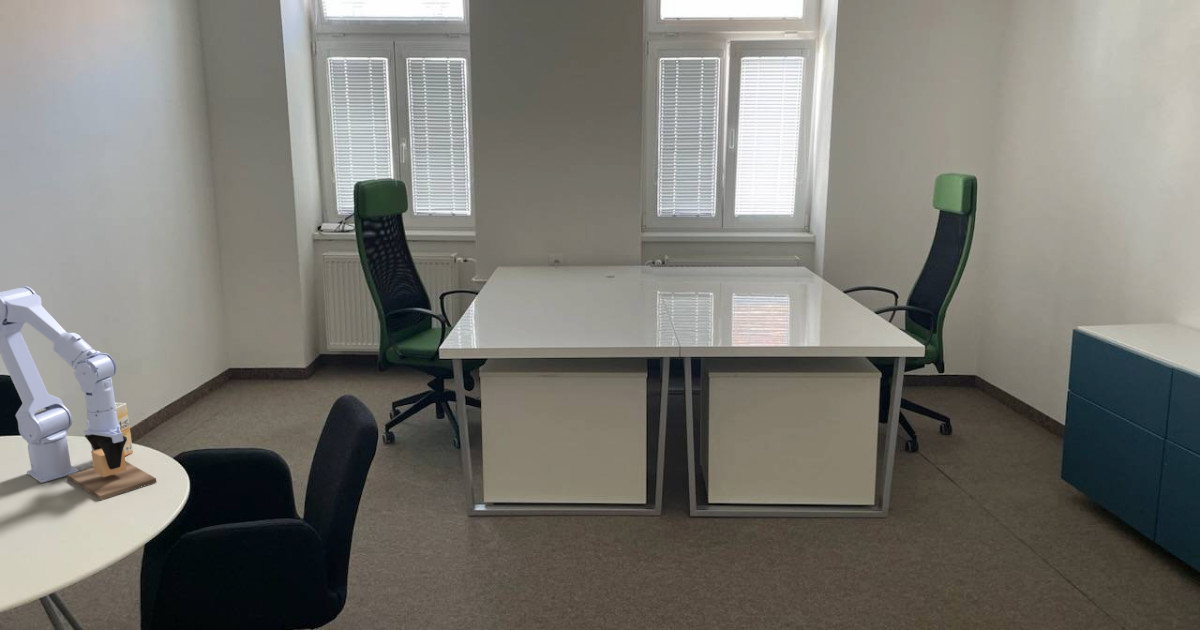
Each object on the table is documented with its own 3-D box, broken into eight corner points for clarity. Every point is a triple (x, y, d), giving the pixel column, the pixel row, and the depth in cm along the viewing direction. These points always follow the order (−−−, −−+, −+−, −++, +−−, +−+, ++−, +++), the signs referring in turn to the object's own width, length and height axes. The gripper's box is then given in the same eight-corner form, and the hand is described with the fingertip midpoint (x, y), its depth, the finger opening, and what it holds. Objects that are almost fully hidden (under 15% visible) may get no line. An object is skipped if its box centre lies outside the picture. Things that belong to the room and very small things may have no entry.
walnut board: (68, 479, 207) (68, 475, 207) (122, 463, 216) (122, 459, 216) (100, 500, 195) (99, 495, 195) (156, 482, 204) (155, 478, 204)
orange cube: (94, 471, 205) (91, 451, 204) (117, 464, 208) (114, 444, 207) (103, 477, 202) (100, 456, 200) (126, 470, 205) (123, 449, 204)
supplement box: (110, 465, 215) (102, 413, 212) (93, 464, 215) (85, 412, 212) (134, 452, 222) (127, 402, 219) (117, 451, 223) (110, 401, 220)
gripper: (69, 406, 203) (78, 462, 206) (95, 420, 194) (104, 478, 197) (102, 398, 208) (110, 453, 212) (129, 411, 199) (137, 468, 202)
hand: (109, 464), depth 205 cm, fingers closed on orange cube, 5 cm apart
